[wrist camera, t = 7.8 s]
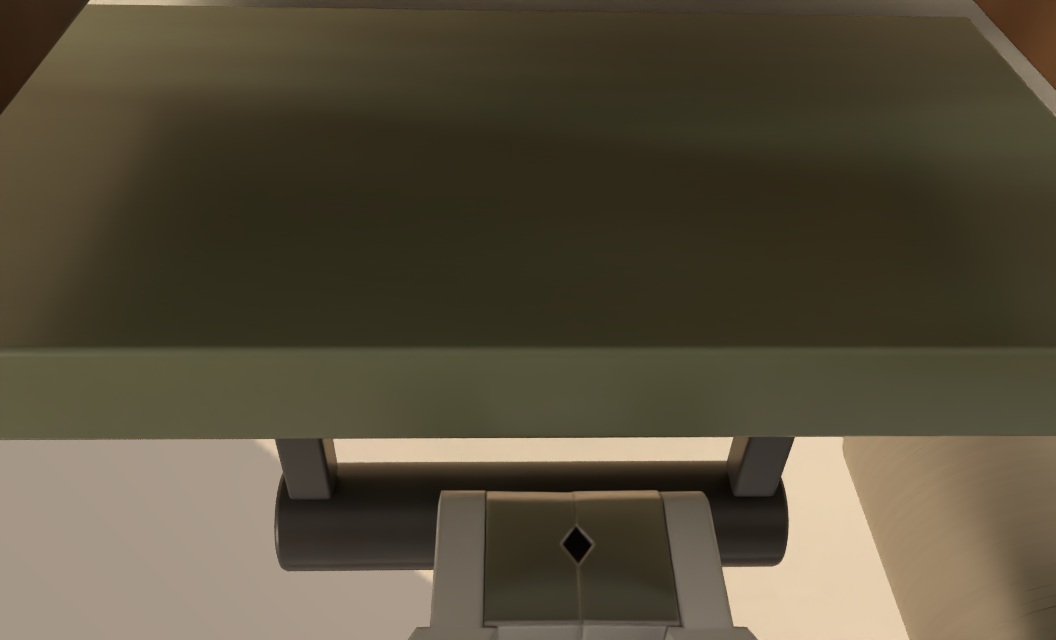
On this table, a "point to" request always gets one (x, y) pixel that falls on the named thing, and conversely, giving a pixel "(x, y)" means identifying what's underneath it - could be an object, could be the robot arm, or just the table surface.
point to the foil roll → (963, 531)
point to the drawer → (521, 244)
